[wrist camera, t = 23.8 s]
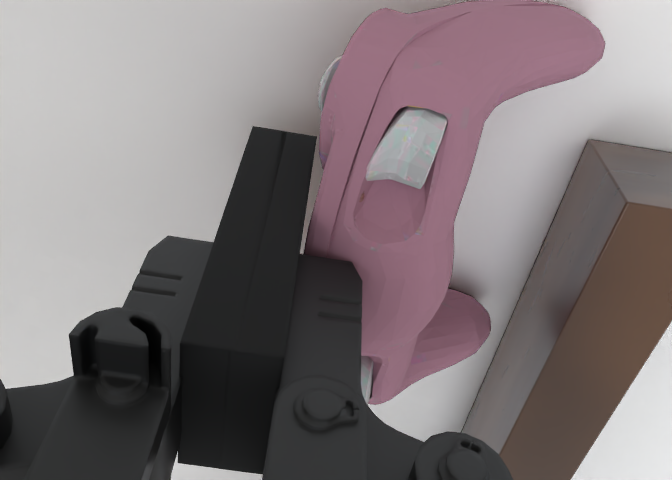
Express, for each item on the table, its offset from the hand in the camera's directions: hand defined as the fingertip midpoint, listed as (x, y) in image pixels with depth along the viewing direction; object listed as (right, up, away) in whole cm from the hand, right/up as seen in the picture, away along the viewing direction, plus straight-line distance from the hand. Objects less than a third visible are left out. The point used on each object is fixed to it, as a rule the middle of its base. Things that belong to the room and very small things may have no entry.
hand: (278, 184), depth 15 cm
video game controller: (+4, +1, +2) cm, 4 cm away
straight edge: (+6, -12, +11) cm, 18 cm away
